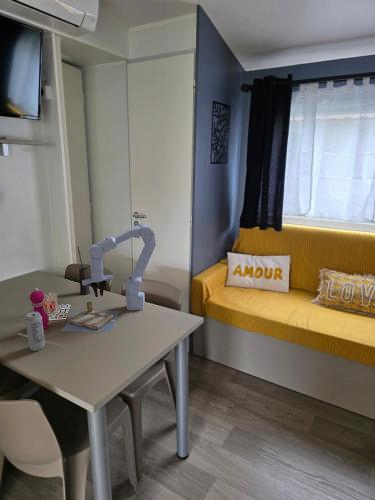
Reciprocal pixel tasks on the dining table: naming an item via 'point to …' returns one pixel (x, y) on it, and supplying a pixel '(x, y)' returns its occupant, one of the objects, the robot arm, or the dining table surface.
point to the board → (79, 328)
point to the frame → (91, 318)
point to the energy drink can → (35, 331)
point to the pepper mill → (39, 306)
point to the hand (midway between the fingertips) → (98, 295)
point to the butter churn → (83, 276)
